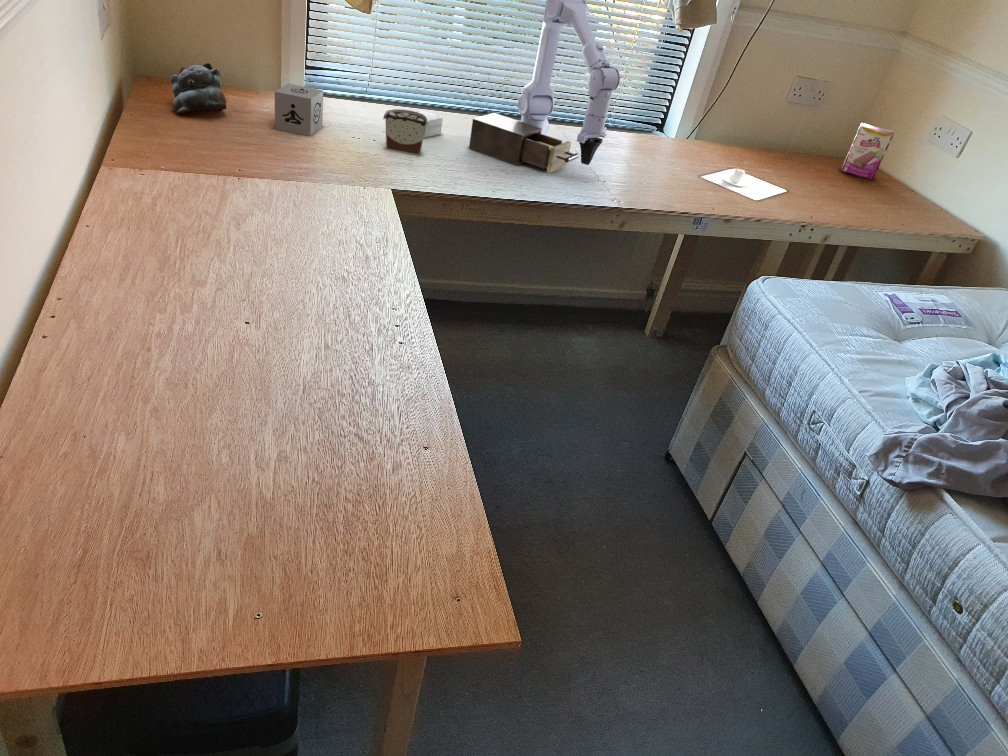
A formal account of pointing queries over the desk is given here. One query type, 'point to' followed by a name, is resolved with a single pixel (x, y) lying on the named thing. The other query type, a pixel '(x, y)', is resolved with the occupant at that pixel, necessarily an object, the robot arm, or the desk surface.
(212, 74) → the lucky cat figurine
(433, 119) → the small box
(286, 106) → the icon cube
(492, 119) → the cabinet
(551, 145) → the green block
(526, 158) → the drawer
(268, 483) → the desk surface
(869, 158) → the candy bar box
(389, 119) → the panettone cake
